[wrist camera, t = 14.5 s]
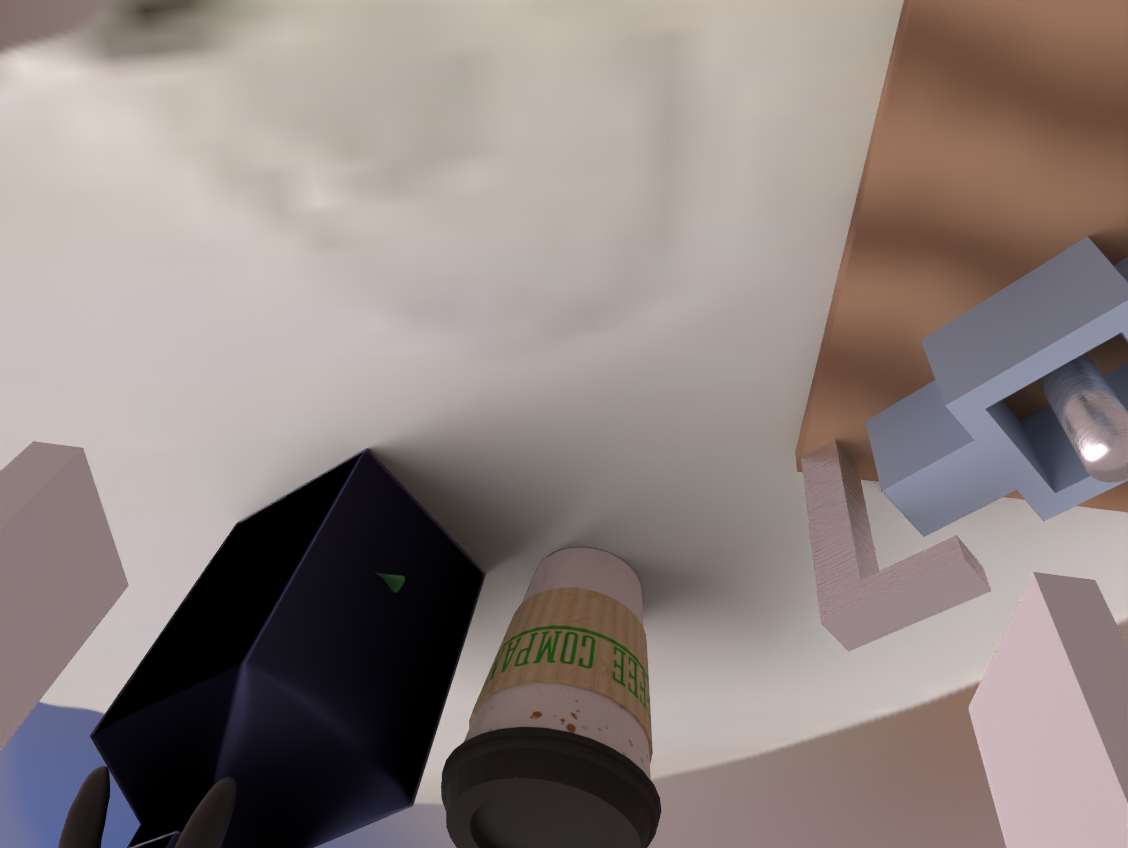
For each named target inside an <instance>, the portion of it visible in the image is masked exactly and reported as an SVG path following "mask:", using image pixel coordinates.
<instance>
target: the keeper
mask: <svg viewBox="0 0 1128 848" xmlns="http://www.w3.org/2000/svg"><path fill="white" fill-rule="evenodd" d="M801 460H802V468H803V477H804V485H805V493H806V502H807V510H808V518H809V527H810V535H811V543H812V552H813V560H814V568H815V576H816V585H817V593H818V601H819V610H820V618H821V624H822V625H823V626H824V627H825V628H826V629H827V630H828V631H829V632H830V633H831V634H832V635H833V636H834V637H835V638H836V639H837V640H838V641H839V642H840V643H841V644H842V645H843V646H844V647H845V648H846V649H847V650H848V651H850V650H853V649H855V648H858V647H860V646H862V645H865V644H867V643H869V642H872V641H874V640H876V639H879V638H881V637H883V636H886V635H888V634H891V633H893V632H895V631H898V630H900V629H902V628H905V627H907V626H909V625H912V624H914V623H916V622H919V621H921V620H923V619H926V618H928V617H931V616H933V615H935V614H938V613H940V612H942V611H945V610H947V609H949V608H952V607H954V606H956V605H959V604H961V603H963V602H966V601H968V600H971V599H973V598H975V597H978V596H980V595H982V594H985V593H987V592H989V591H991V589H990V586H989V583H988V580H987V577H986V574H985V571H984V569H983V566H982V565H981V564H980V563H979V562H978V560H977V559H976V558H975V557H974V556H973V554H972V553H971V552H970V551H969V550H968V548H967V547H966V546H965V545H964V544H963V542H962V541H961V540H960V539H959V538H958V536H957V535H956V536H954V537H952V538H950V539H948V540H946V541H943V542H941V543H939V544H937V545H935V546H933V547H931V548H928V549H926V550H924V551H922V552H920V553H918V554H916V555H913V556H911V557H909V558H907V559H905V560H903V561H900V562H898V563H896V564H894V565H892V566H890V567H888V568H885V569H883V570H881V571H879V568H878V563H877V559H876V554H875V549H874V544H873V539H872V534H871V529H870V524H869V520H868V515H867V510H866V505H865V500H864V495H863V490H862V486H861V481H860V476H859V471H858V466H857V464H856V463H855V462H854V461H853V459H852V458H851V457H850V456H849V455H848V454H847V452H846V451H845V450H844V449H843V448H842V447H841V445H840V444H839V443H838V442H837V441H836V440H833V441H831V442H829V443H827V444H826V445H824V446H822V447H820V448H819V449H817V450H815V451H813V452H811V453H810V454H808V455H806V456H804V457H802V458H801Z"/></svg>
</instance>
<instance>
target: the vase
mask: <svg viewBox="0 0 1128 848" xmlns="http://www.w3.org/2000/svg"><path fill="white" fill-rule="evenodd" d="M485 575H486V574H485V573H484V572H483V571H482V570H481V568H480V567H479V566H478V565H477V564H476V563H475V562H474V561H473V560H472V559H471V558H470V557H469V556H468V555H467V554H466V553H465V552H464V550H463V549H462V548H461V547H460V546H459V545H458V544H457V543H456V542H455V541H454V540H453V539H452V538H451V537H450V536H449V535H448V534H447V533H446V531H445V530H444V529H443V528H442V527H441V526H440V525H439V524H438V523H437V522H436V521H435V520H434V519H433V518H432V517H431V516H430V515H429V513H428V512H427V511H426V510H425V509H424V508H423V507H422V506H421V505H420V504H419V503H418V502H417V501H416V500H415V499H414V498H413V497H412V496H411V494H410V493H409V492H408V491H407V490H406V489H405V488H404V487H403V486H402V485H401V484H400V483H399V482H398V481H397V480H396V479H395V478H394V476H393V475H392V474H391V473H390V472H389V471H388V470H387V469H386V468H385V467H384V466H383V465H382V464H381V463H380V462H379V461H378V460H377V458H376V457H375V456H374V455H373V454H372V453H371V452H370V451H369V450H368V449H365V450H363V451H361V452H360V453H358V454H356V455H354V456H353V457H351V458H349V459H348V460H346V461H344V462H342V463H341V464H339V465H337V466H335V467H334V468H332V469H330V470H328V471H327V472H325V473H323V474H321V475H320V476H318V477H316V478H315V479H313V480H311V481H309V482H308V483H306V484H304V485H302V486H301V487H299V488H297V489H295V490H294V491H292V492H290V493H288V494H287V495H285V496H283V497H282V498H280V499H278V500H276V501H275V502H273V503H271V504H269V505H268V506H266V507H264V508H262V509H261V510H259V511H257V512H255V513H254V514H252V515H250V516H249V517H247V518H245V519H243V520H242V521H240V522H238V523H236V525H235V526H234V528H233V529H232V531H231V532H230V534H229V535H228V536H227V538H226V539H225V541H224V542H223V544H222V545H221V547H220V548H219V549H218V551H217V552H216V554H215V555H214V557H213V558H212V560H211V561H210V563H209V564H208V565H207V567H206V568H205V570H204V571H203V573H202V574H201V576H200V577H199V578H198V580H197V581H196V583H195V584H194V586H193V587H192V589H191V590H190V592H189V593H188V594H187V596H186V597H185V599H184V600H183V602H182V603H181V605H180V606H179V607H178V609H177V610H176V612H175V613H174V615H173V616H172V618H171V619H170V620H169V622H168V623H167V625H166V626H165V628H164V629H163V631H162V632H161V634H160V635H159V636H158V638H157V639H156V641H155V642H154V644H153V645H152V647H151V648H150V649H149V651H148V652H147V654H146V655H145V657H144V658H143V660H142V661H141V662H140V664H139V665H138V667H137V668H136V670H135V671H134V673H133V674H132V676H131V677H130V678H129V680H128V681H127V683H126V684H125V686H124V687H123V689H122V690H121V691H120V693H119V694H118V696H117V697H116V699H115V700H114V702H113V703H112V705H111V706H110V707H109V709H108V710H107V712H106V713H105V715H104V716H103V718H102V719H101V720H100V722H99V723H98V725H97V726H96V728H95V729H94V731H93V732H92V734H91V735H90V737H91V739H92V740H93V742H94V744H95V746H96V747H97V749H98V751H99V753H100V754H101V756H102V758H103V760H104V761H105V763H106V765H107V767H108V768H109V770H110V772H111V773H112V775H113V777H114V779H115V781H116V782H117V784H118V786H119V788H120V789H121V791H122V793H123V795H124V796H125V798H126V800H127V801H128V803H129V805H130V807H131V808H132V810H133V812H134V814H135V815H136V817H137V819H138V821H139V822H140V824H141V825H140V827H139V828H138V830H137V832H136V833H135V835H134V837H133V839H132V840H131V842H130V844H129V846H128V847H127V848H314V847H316V846H318V845H321V844H323V843H326V842H328V841H330V840H333V839H335V838H337V837H340V836H342V835H345V834H347V833H350V832H352V831H354V830H357V829H359V828H361V827H364V826H366V825H368V824H371V823H373V822H376V821H378V820H380V819H383V818H385V817H388V816H390V815H392V814H394V813H397V812H400V811H402V810H404V809H407V808H409V807H411V806H413V804H414V801H415V798H416V795H417V792H418V788H419V785H420V782H421V779H422V776H423V772H424V769H425V766H426V763H427V760H428V757H429V753H430V750H431V747H432V744H433V741H434V738H435V734H436V731H437V728H438V725H439V722H440V718H441V715H442V712H443V709H444V706H445V703H446V699H447V696H448V693H449V690H450V687H451V683H452V680H453V677H454V674H455V671H456V668H457V664H458V661H459V658H460V655H461V652H462V648H463V645H464V642H465V639H466V636H467V633H468V629H469V626H470V623H471V620H472V617H473V613H474V610H475V607H476V604H477V601H478V598H479V594H480V591H481V588H482V585H483V582H484V579H485ZM107 767H106V766H101V767H99V768H97V769H95V770H93V771H92V772H91V773H90V774H89V775H88V777H87V778H86V780H85V781H84V783H83V784H82V786H81V788H80V790H79V792H78V794H77V796H76V798H75V800H74V802H73V804H72V806H71V808H70V810H69V812H68V816H67V819H66V822H65V825H64V828H63V831H62V834H61V838H60V841H59V848H101V840H102V834H103V830H104V826H105V820H106V814H107V808H108V802H109V798H110V777H109V770H108V768H107Z"/></svg>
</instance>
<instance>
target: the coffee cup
mask: <svg viewBox="0 0 1128 848" xmlns="http://www.w3.org/2000/svg"><path fill="white" fill-rule="evenodd" d="M652 753H653V751H652V733H651V715H650V696H649V678H648V659H647V642H646V634H645V631H644V628H643V606H642V589H641V584H640V581H639V578H638V576H637V575H636V573H635V572H634V570H633V569H632V568H631V567H630V566H629V565H628V564H627V563H626V562H624V561H623V560H621V559H620V558H618V557H617V556H614V555H612V554H610V553H608V552H605V551H602V550H599V549H593V548H587V547H575V548H568V549H563V550H560V551H557V552H555V553H553V554H551V555H549V556H548V557H546V558H545V559H544V560H543V561H542V562H541V563H540V564H539V566H538V567H537V569H536V571H535V574H534V576H533V578H532V581H531V583H530V585H529V588H528V590H527V593H526V595H525V597H524V600H523V602H522V604H521V605H520V606H519V608H518V609H517V611H516V612H515V614H514V616H513V618H512V621H511V623H510V625H509V628H508V630H507V632H506V635H505V637H504V639H503V642H502V644H501V646H500V649H499V651H498V653H497V656H496V658H495V660H494V663H493V665H492V667H491V669H490V672H489V674H488V676H487V679H486V681H485V683H484V686H483V688H482V690H481V693H480V695H479V697H478V700H477V702H476V704H475V707H474V709H473V712H472V715H471V717H470V720H469V731H468V733H467V736H466V738H465V740H464V743H462V744H461V745H460V746H458V747H457V748H456V749H454V751H453V752H452V753H451V755H450V756H449V757H448V759H447V760H446V762H445V765H444V768H443V771H442V782H441V795H442V801H443V804H444V807H445V809H446V812H447V813H446V816H447V817H446V822H447V829H448V832H449V835H450V838H451V839H452V841H453V842H454V844H455V846H456V847H457V848H647V847H648V846H649V844H650V842H651V841H652V839H653V838H654V836H655V834H656V829H657V827H658V823H659V819H660V814H661V804H660V797H659V795H658V793H657V790H656V788H655V786H654V784H653V783H652V781H651V778H650V762H651V758H652Z"/></svg>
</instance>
